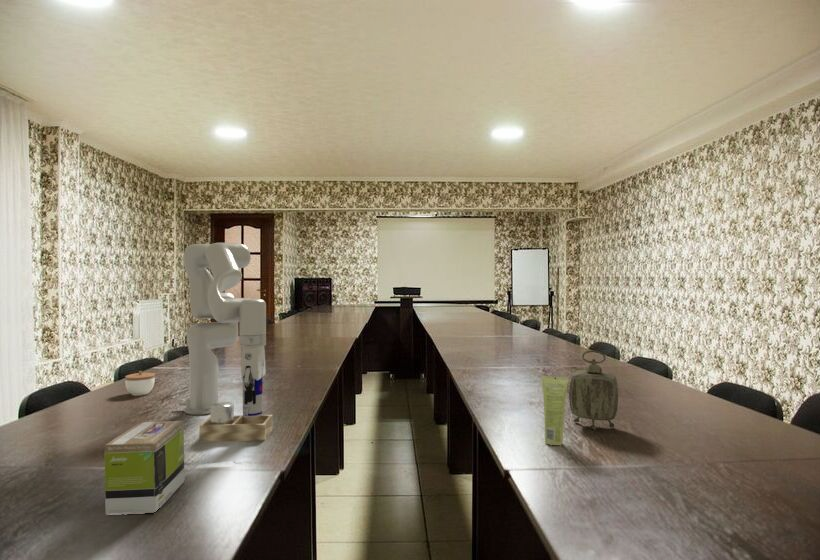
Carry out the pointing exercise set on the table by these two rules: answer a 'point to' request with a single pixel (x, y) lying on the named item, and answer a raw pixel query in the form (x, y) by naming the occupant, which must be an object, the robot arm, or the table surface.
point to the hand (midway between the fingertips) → (252, 401)
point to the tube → (554, 408)
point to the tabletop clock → (593, 393)
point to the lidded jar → (139, 383)
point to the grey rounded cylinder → (222, 413)
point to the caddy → (237, 429)
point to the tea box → (144, 467)
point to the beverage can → (256, 409)
